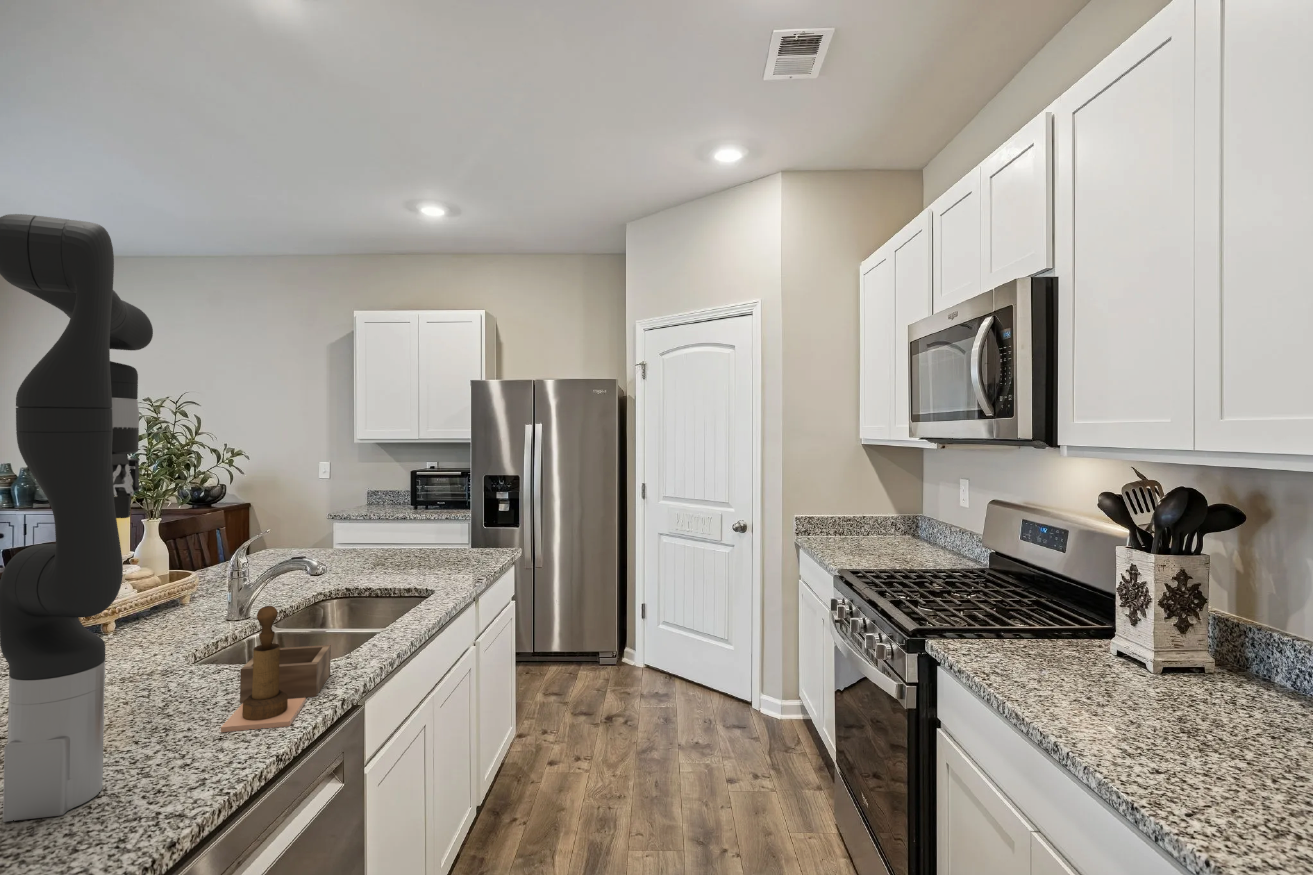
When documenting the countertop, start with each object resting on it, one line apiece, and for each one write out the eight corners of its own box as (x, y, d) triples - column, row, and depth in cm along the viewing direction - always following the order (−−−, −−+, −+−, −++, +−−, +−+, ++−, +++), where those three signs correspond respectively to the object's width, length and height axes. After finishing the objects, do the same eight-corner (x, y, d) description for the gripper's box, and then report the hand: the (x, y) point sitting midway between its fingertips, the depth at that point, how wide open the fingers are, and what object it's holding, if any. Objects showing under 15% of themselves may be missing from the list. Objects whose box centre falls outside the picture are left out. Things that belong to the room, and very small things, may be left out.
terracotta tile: (289, 726, 106) (289, 721, 106) (220, 732, 104) (220, 727, 104) (305, 702, 116) (305, 697, 116) (242, 707, 113) (243, 702, 114)
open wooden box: (316, 696, 119) (316, 663, 119) (239, 702, 115) (240, 669, 115) (330, 674, 130) (330, 644, 130) (260, 679, 126) (261, 649, 126)
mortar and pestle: (266, 722, 106) (268, 612, 106) (232, 718, 107) (234, 610, 107) (296, 706, 112) (298, 603, 112) (264, 702, 114) (266, 600, 114)
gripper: (113, 425, 103) (111, 526, 103) (156, 426, 117) (154, 515, 117) (57, 423, 101) (54, 526, 101) (107, 425, 115) (105, 516, 115)
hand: (108, 520), depth 109 cm, fingers open, 8 cm apart
